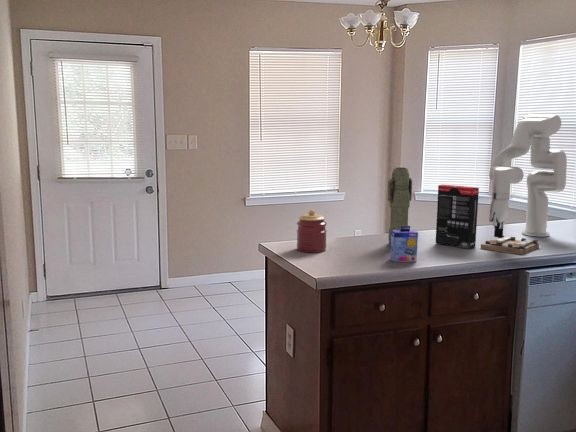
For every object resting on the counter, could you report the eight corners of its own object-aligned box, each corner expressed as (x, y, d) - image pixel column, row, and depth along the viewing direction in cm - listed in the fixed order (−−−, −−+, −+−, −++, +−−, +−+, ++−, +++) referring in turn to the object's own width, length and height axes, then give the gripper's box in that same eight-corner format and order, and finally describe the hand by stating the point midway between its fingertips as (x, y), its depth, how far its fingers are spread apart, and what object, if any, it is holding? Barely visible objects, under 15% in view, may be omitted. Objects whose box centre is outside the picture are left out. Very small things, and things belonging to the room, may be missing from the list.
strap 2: (526, 241, 253) (526, 238, 253) (532, 242, 251) (533, 239, 251) (512, 246, 242) (512, 243, 242) (519, 247, 240) (519, 244, 240)
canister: (292, 251, 243) (292, 211, 240) (302, 245, 255) (302, 207, 252) (321, 254, 238) (321, 212, 236) (329, 247, 250) (330, 208, 248)
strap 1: (504, 238, 260) (504, 235, 260) (510, 239, 258) (510, 236, 258) (489, 243, 248) (489, 240, 248) (496, 244, 246) (496, 240, 246)
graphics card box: (476, 247, 252) (480, 186, 248) (469, 249, 247) (473, 187, 243) (441, 242, 264) (444, 183, 259) (434, 244, 259) (436, 185, 254)
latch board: (499, 241, 264) (499, 234, 263) (538, 247, 252) (539, 239, 251) (480, 248, 249) (481, 240, 249) (521, 254, 237) (522, 246, 237)
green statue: (381, 244, 258) (383, 167, 252) (401, 241, 264) (403, 166, 258) (394, 247, 250) (397, 169, 245) (414, 245, 256) (417, 168, 251)
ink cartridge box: (393, 262, 224) (394, 226, 222) (389, 259, 229) (390, 224, 227) (417, 262, 225) (418, 226, 222) (413, 258, 230) (414, 223, 228)
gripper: (499, 193, 256) (497, 233, 259) (484, 197, 245) (483, 238, 248) (515, 195, 251) (513, 235, 254) (502, 199, 240) (499, 241, 243)
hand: (498, 237), depth 251 cm, fingers closed
